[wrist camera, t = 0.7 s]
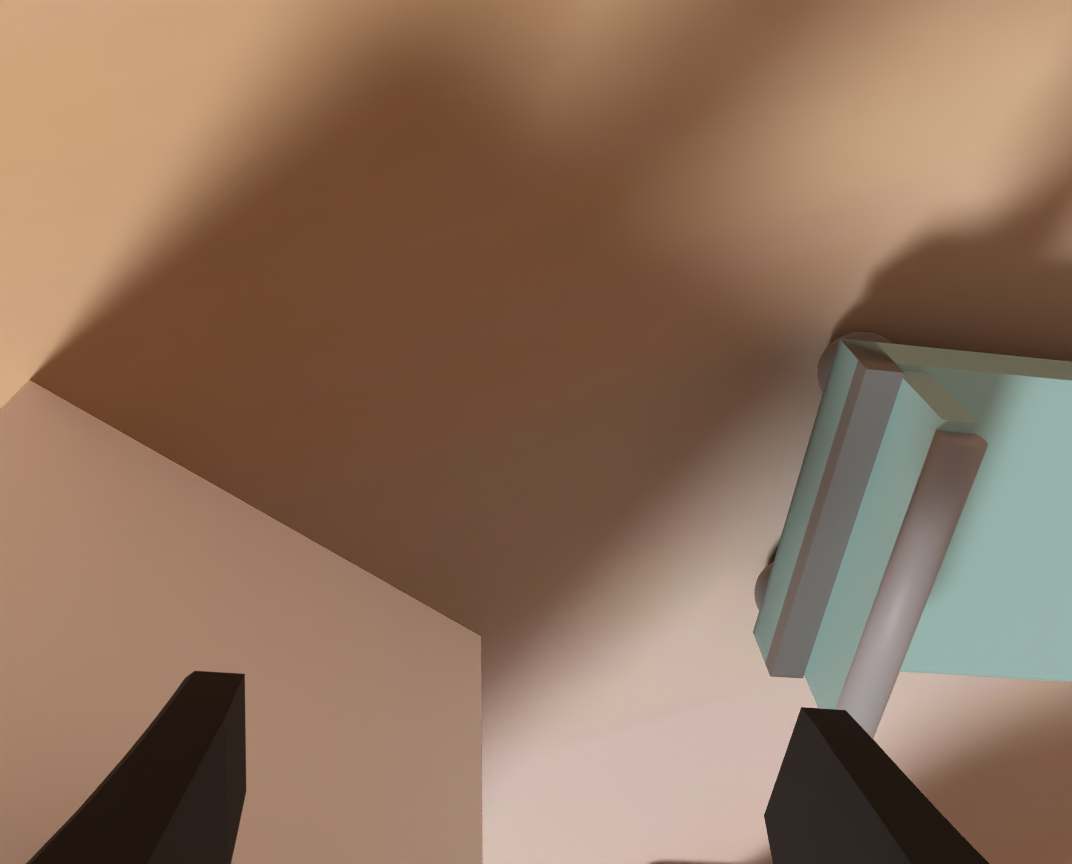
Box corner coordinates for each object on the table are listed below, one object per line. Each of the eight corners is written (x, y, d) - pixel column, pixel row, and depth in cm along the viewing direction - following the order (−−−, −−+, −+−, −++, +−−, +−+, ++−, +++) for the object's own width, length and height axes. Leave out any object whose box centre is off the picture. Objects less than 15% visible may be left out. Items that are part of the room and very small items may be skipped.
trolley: (1061, 620, 23) (1195, 777, 19) (739, 598, 22) (802, 757, 18) (1189, 353, 20) (1385, 470, 15) (818, 315, 19) (918, 428, 15)
